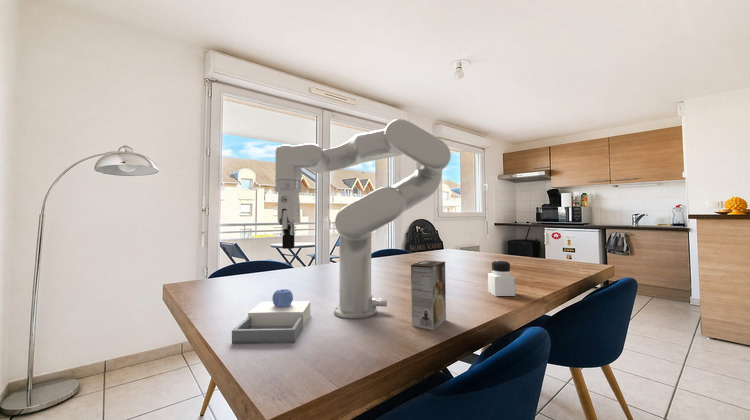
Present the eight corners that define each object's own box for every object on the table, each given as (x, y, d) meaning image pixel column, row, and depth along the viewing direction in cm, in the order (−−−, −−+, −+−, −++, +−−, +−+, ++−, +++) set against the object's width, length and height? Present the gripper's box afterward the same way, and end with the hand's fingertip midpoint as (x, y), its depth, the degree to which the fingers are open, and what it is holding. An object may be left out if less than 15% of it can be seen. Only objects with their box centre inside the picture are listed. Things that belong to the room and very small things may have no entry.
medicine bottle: (515, 297, 106) (515, 262, 107) (495, 297, 107) (494, 262, 107) (507, 292, 114) (506, 259, 114) (487, 292, 114) (487, 259, 114)
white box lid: (310, 314, 88) (310, 301, 88) (303, 327, 78) (303, 311, 78) (261, 315, 88) (261, 301, 88) (248, 328, 78) (248, 312, 78)
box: (303, 327, 78) (303, 316, 78) (294, 343, 69) (294, 329, 69) (247, 328, 78) (247, 316, 78) (231, 344, 68) (231, 330, 68)
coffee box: (424, 316, 87) (424, 259, 87) (446, 320, 83) (446, 261, 84) (410, 326, 79) (410, 264, 79) (434, 331, 76) (433, 266, 76)
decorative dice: (293, 305, 84) (293, 290, 85) (280, 308, 81) (280, 293, 81) (284, 302, 87) (284, 288, 87) (272, 305, 84) (272, 291, 84)
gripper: (296, 184, 84) (296, 251, 84) (305, 189, 99) (305, 245, 99) (268, 184, 84) (268, 251, 84) (282, 189, 99) (282, 246, 99)
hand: (288, 248), depth 91 cm, fingers closed
